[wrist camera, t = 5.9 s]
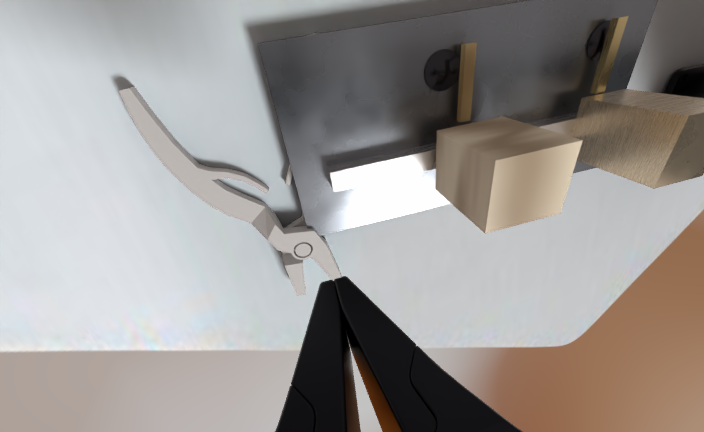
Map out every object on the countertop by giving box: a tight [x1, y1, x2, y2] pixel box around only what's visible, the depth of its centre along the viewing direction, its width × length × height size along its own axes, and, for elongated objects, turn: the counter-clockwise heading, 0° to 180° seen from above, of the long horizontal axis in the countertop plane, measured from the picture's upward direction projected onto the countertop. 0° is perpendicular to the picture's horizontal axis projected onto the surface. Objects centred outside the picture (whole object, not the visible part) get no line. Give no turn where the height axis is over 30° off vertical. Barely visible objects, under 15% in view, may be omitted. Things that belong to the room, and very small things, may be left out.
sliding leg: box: [435, 42, 583, 233], centre depth 14 cm, size 4×7×6 cm, turn 8°
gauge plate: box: [258, 0, 704, 236], centre depth 15 cm, size 22×11×7 cm, turn 98°
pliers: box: [119, 32, 342, 296], centre depth 17 cm, size 10×2×15 cm
